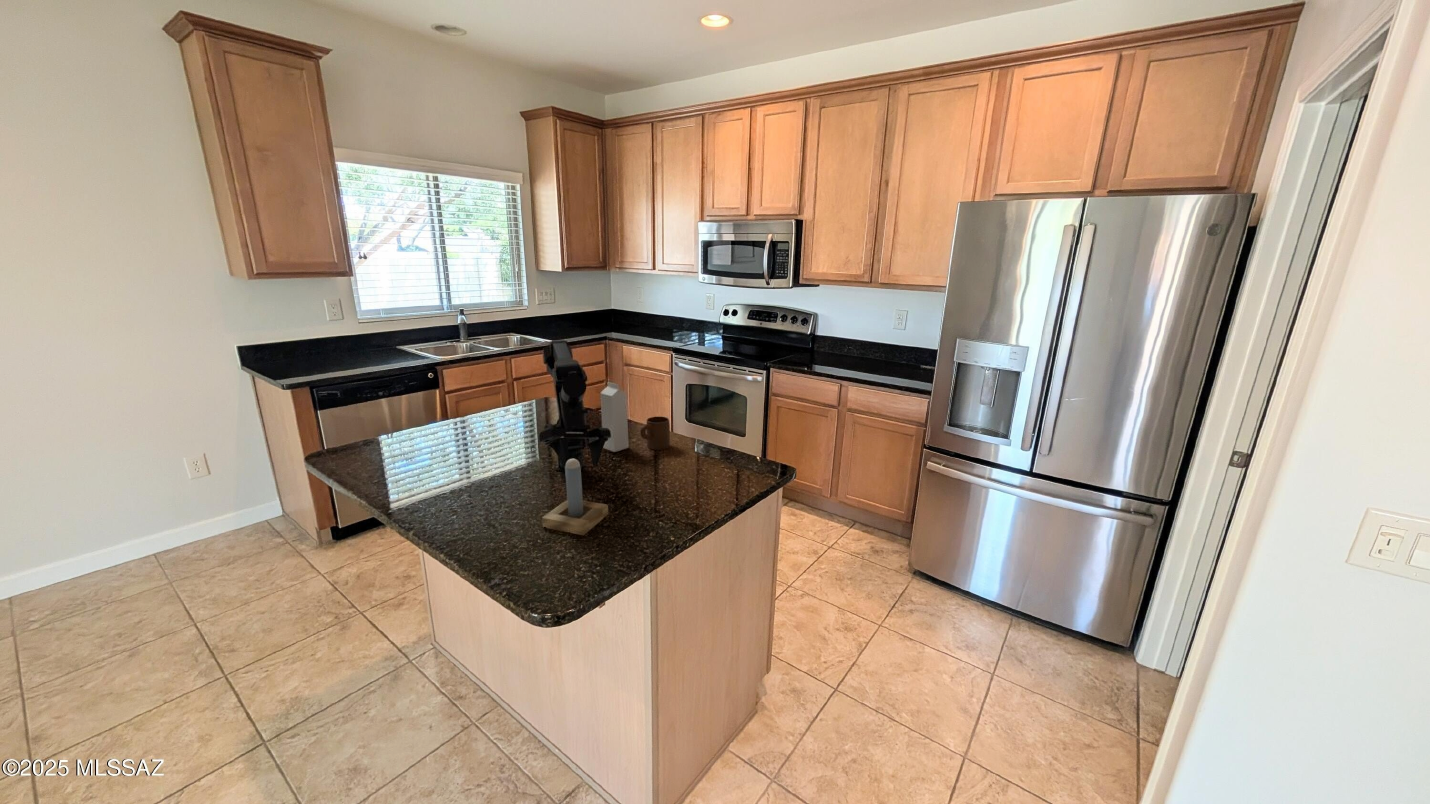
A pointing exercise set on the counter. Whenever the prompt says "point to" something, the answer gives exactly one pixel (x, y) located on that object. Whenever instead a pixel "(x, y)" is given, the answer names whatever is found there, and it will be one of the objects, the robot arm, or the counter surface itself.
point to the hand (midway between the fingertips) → (581, 467)
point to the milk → (615, 417)
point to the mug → (657, 433)
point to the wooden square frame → (581, 526)
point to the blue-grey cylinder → (574, 488)
